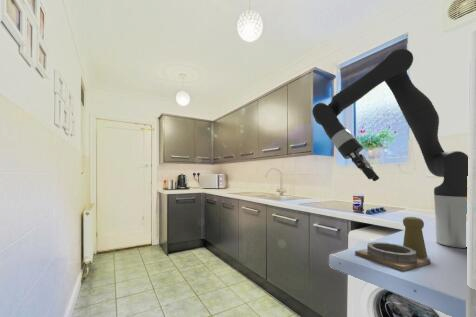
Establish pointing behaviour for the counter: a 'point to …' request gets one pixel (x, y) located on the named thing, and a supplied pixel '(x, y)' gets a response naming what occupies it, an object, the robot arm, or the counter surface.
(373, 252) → the spice stand
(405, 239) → the brown tapered knobbed cylinder
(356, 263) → the counter surface
